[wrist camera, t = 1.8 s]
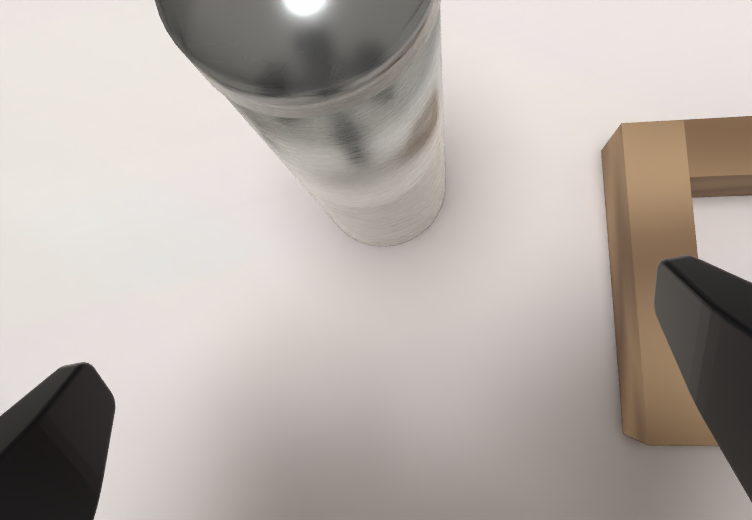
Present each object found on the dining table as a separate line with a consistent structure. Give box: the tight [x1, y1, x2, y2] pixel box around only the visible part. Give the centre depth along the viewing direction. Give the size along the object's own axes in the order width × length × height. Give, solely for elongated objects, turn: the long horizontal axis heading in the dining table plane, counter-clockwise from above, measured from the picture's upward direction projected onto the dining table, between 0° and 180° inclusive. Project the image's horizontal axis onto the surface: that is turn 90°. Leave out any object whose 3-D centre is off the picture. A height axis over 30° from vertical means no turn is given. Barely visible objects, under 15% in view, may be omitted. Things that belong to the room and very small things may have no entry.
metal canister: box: [155, 0, 445, 246], centre depth 15 cm, size 5×5×13 cm
